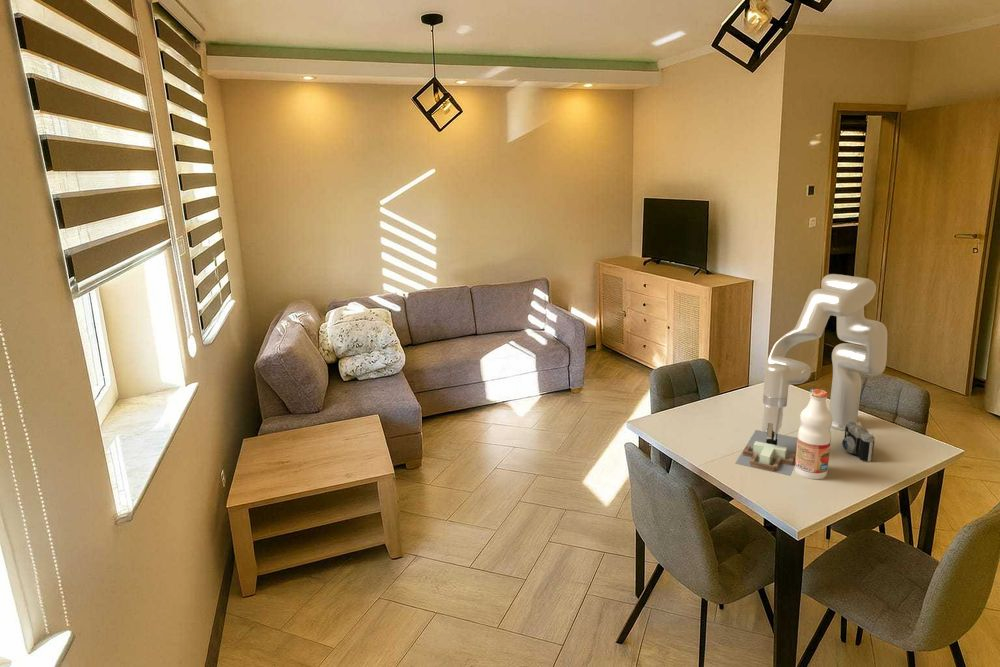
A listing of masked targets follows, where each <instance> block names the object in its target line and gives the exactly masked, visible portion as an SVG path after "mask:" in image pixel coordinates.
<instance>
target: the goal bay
mask: <svg viewBox="0 0 1000 667" xmlns="http://www.w3.org/2000/svg"><path fill="white" fill-rule="evenodd" d="M746 445H747V444H746ZM746 445H745V447H746V448H745V447H744V448H745V449H744V448H743V450H744V451H743V450H742V452H743V456H748V457H752V458H751V460H750V465H751V467H750V468H752V467H755V468H754V469H757V468H759V469H758V470H761V469H764V470H763V471H766V470H768V471H767V472H770V471H773V472H772V473H775V472H774V471H775V470H776V471H777V469H778V467H779V465H780V463H781V464H786V465H790V466H792V464H793V461H794V459H795V454H792V453H791V455H790V458H789V459H784V458H780V457H777V459H776V461H775V463H774V465H768V464H763V463H759V462H756V460H757V458H758V453H756V452H751V451H750V449H751V445H747V446H746Z"/></svg>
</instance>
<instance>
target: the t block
mask: <svg viewBox="0 0 1000 667" xmlns="http://www.w3.org/2000/svg"><path fill="white" fill-rule="evenodd" d="M753 452H756V453H758V456H760V460H759V463H763V464H768V465H770V464H771V463H772V461H773V459H774V460H776V459H777V457H780V458H784V459H786V453H787V447H783V446H778V445H773V444H768V443H763V442H757V441H755V443H754V446H753Z"/></svg>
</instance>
